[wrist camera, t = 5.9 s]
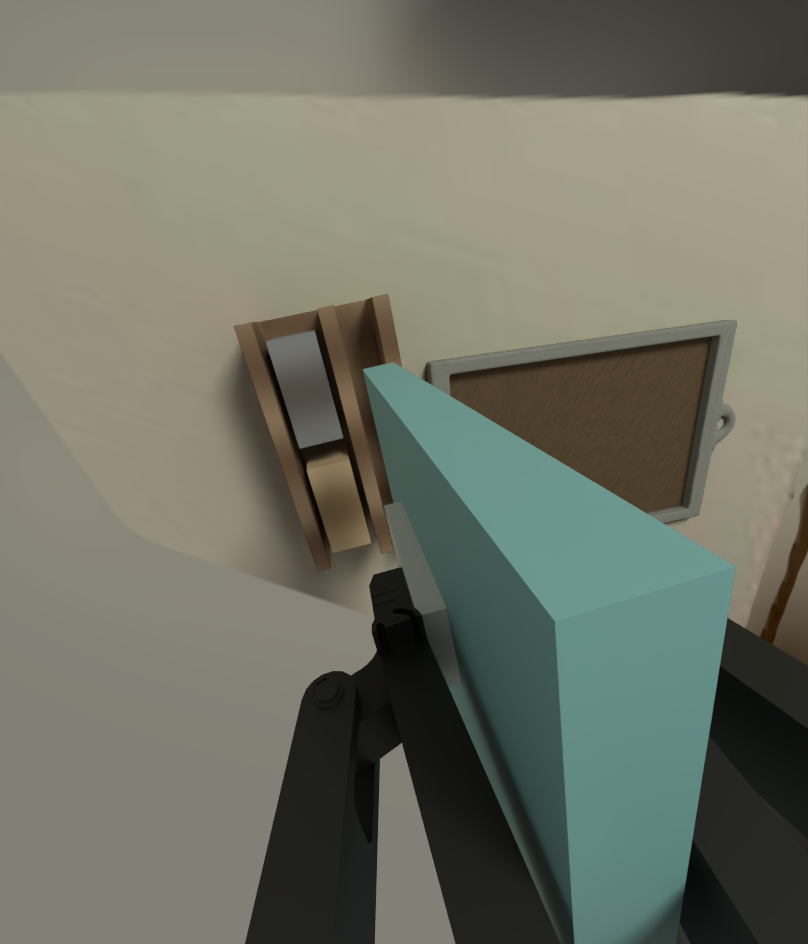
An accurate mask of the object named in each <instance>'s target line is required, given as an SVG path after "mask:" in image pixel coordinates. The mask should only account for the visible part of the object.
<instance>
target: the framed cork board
mask: <svg viewBox="0 0 808 944" xmlns="http://www.w3.org/2000/svg"><path fill="white" fill-rule="evenodd" d="M736 327H737V321H735V320H723V321H715V322H708V323H701V324H694V325H686V326H679V327H672V328H665V329H658V330H651V331H643V332H636V333H629V334H622V335H615V336H608V337H600V338H593V339H586V340H579V341H572V342H565V343H557V344H550V345H543V346H536V347H529V348H522V349H514V350H507V351H500V352H493V353H486V354H479V355H471V356H464V357H457V358H450V359H443V360H436V361H430V362H427V364H426V369H427V381H428V383H429V384H431V385H432V386H434V387H436V388H437V389H439V390H441V391H443V392H444V393H446V394H448V395H449V396H451V397H453V398H454V399H456V400H458V401H459V402H461V403H463V404H464V405H466V406H468V407H469V408H471V409H473V410H474V411H476V412H478V413H479V414H481V415H483V416H484V417H486V418H488V419H489V420H491V421H493V422H494V423H496V424H498V425H499V426H501V427H503V428H504V429H506V430H508V431H509V432H511V433H513V434H514V435H516V436H518V437H519V438H521V439H523V440H525V441H526V442H528V443H530V444H531V445H533V446H535V447H536V448H538V449H540V450H541V451H543V452H545V453H546V454H548V455H550V456H551V457H553V458H555V459H556V460H558V461H560V462H561V463H563V464H565V465H566V466H568V467H570V468H571V469H573V470H575V471H576V472H578V473H580V474H581V475H583V476H585V477H586V478H588V479H590V480H591V481H593V482H595V483H596V484H598V485H600V486H601V487H603V488H605V489H607V490H608V491H610V492H612V493H613V494H615V495H617V496H618V497H620V498H622V499H623V500H625V501H627V502H628V503H630V504H632V505H633V506H635V507H637V508H638V509H640V510H642V511H643V512H645V513H647V514H648V515H650V516H652V517H653V518H655V519H657V520H658V521H660V522H662V523H666V522H671V521H676V520H681V519H685V518H690V517H694V516H698V515H699V512H700V508H701V503H702V498H703V493H704V488H705V483H706V478H707V473H708V468H709V463H710V458H711V453H712V452H713V450H714V448H715V445H716V443H718V442H720V441H721V440H722V439H723V438H725V437H726V436H727V435H728V433H729V432H730V431H731V430H732V428H733V426H734V423H735V414H734V412H733V409H732V408H731V407H730V406H729V405H727V404H726V403H723V400H722V397H723V392H724V387H725V382H726V377H727V372H728V367H729V362H730V357H731V352H732V347H733V342H734V337H735V332H736ZM721 417H724V418H725V422H724V425H723V426H722V428H720V429H719V430H716V427H717V422H718V421H719V420H720V418H721Z"/></svg>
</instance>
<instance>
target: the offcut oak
mask: <svg viewBox="0 0 808 944" xmlns="http://www.w3.org/2000/svg"><path fill="white" fill-rule="evenodd" d="M307 473H308V477H309V480H310V483H311V486H312V489H313V492H314V495H315V499H316V502H317V505H318V508H319V511H320V514H321V518H322V521H323V524H324V527H325V530H326V533H327V536H328V540H329V543H330V546H331V549H332V552H333V553H337V552H340V551H344V550H348V549H351V548H355V547H359V546H363V545H366V544H370V543H371V539H370V534H369V529H368V524H367V520H366V516H365V512H364V508H363V504H362V501H361V497H360V493H359V489H358V486H357V482H356V478H355V474H354V471H353V467H352V463H351V459H350V456H349V452H348V448H347V444H346V443H344V444H340V445H336V446H332V447H328V448H324V449H319V450H315V451H311V452H309V453H308V461H307Z"/></svg>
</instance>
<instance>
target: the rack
mask: <svg viewBox="0 0 808 944" xmlns="http://www.w3.org/2000/svg"><path fill="white" fill-rule="evenodd" d="M234 329H235V332H236V335H237V338H238V341H239V343H240V346H241V349H242V352H243V355H244V358H245V361H246V364H247V367H248V370H249V373H250V375H251V378H252V381H253V384H254V387H255V390H256V393H257V396H258V399H259V402H260V405H261V408H262V410H263V413H264V416H265V419H266V422H267V425H268V428H269V431H270V434H271V437H272V440H273V443H274V445H275V448H276V451H277V454H278V457H279V460H280V463H281V466H282V469H283V472H284V475H285V477H286V480H287V483H288V486H289V489H290V492H291V495H292V498H293V501H294V504H295V507H296V510H297V512H298V515H299V518H300V521H301V524H302V527H303V530H304V533H305V536H306V539H307V542H308V545H309V547H310V550H311V553H312V556H313V559H314V562H315V565H316V568H317V571H322V570H325V569H329V568H331V563H330V543H329V540H328V536H327V533H326V530H325V527H324V524H323V521H322V518H321V514H320V511H319V508H318V505H317V502H316V499H315V495H314V492H313V489H312V486H311V483H310V480H309V477H308V473H307V461H308V453H309V452H311V451H315V450H319V449H324V448H328V447H332V446H336V445H340V444H344V443H346V444H347V448H348V452H349V456H350V459H351V463H352V467H353V471H354V474H355V478H356V482H357V486H358V489H359V493H360V497H361V501H362V504H363V508H364V512H365V516H366V520H367V524H368V529H369V531H370V530H374V529H375V533H376V537H377V540H378V544H379V548H380V552H381V554H384V553H387V552H391V551H393V547H392V543H391V539H390V534H389V530H388V521H387V516H386V512H385V508H384V505H388V504H392V503H393V499H392V495H391V490H390V486H389V482H388V477H387V473H386V469H385V464H384V460H383V456H382V451H381V447H380V443H379V438H378V434H377V430H376V425H375V421H374V417H373V412H372V408H371V404H370V399H369V395H368V391H367V386H366V382H365V378H364V373H363V369H366V368H370V367H375V366H379V365H384V364H388V363H393V362H394V363H396V364H397V365H399V366H401V367H402V364H401V359H400V353H399V348H398V343H397V338H396V332H395V327H394V322H393V317H392V311H391V306H390V301H389V296H388V294H385V295H380V296H376V297H372V298H369V299H367V300H364V301H359V302H354V303H349V304H344V305H340V306H335V307H334V305H332V306H328V307H323V308H318V309H317V310H316V311H311V312H306V313H301V314H297V315H292V316H287V317H282V318H277V319H273V320H268V321H263V322H251V323H246V324H241V325H236V326H234ZM311 330H316V332H317V335H318V339H319V343H320V347H321V350H322V354H323V358H324V362H325V365H326V369H327V373H328V377H329V380H330V384H331V388H332V392H333V395H334V399H335V403H336V407H337V410H338V414H339V418H340V422H341V427H342V433H343V438H342V439H338V440H333V441H329V442H325V443H321V444H317V445H313V446H309V447H305V448H299V445H298V442H297V439H296V436H295V432H294V429H293V426H292V423H291V420H290V417H289V414H288V410H287V407H286V404H285V401H284V398H283V395H282V392H281V388H280V385H279V382H278V379H277V376H276V373H275V369H274V366H273V363H272V360H271V357H270V354H269V351H268V347H267V344H266V341H269V340H271V339H274V338H279V337H283V336H288V335H293V334H297V333H302V332H307V331H311Z"/></svg>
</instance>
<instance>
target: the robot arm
mask: <svg viewBox="0 0 808 944" xmlns="http://www.w3.org/2000/svg"><path fill="white" fill-rule="evenodd" d="M384 508H385V512H386V516H387V521H388V525H389V529H390V533H391V537H392V541H393V545H394V549H395V554H396V558H397V562H398V565H399V568H396V569H393V570H389V571H386V572H382V573H378V574H375V575H373V578H372V580H371V583H370V585H369V587H370V593H371V598H372V605H373V612H374V618H375V620H374V622H373V624H372V635H373V638H374V641H375V645H376V648H377V652H376V654H375V656H374V657H373V659H372V660H371V661H370V662H369V663H368V664H367V665H366V666H365V667H363V668H362V669H361V670H359V671H357V672H356V673H354V674H353V675H351V676H350V675H349V674H347V673H344V672H343V671H332V672H329V673H326V674H323V675H321V676H320V677H318V678H317V679H316V680H314V681H313V682H312V683H311V684H310V686H309V687H308V688H307V689H306V691H305V693H304V696H303V698H302V701H301V706H300V710H299V714H298V718H297V722H296V727H295V731H294V736H293V740H292V744H291V748H290V753H289V757H288V761H287V766H286V770H285V774H284V779H283V783H282V787H281V792H280V796H279V800H278V805H277V809H276V813H275V817H274V821H273V826H272V830H271V834H270V839H269V843H268V847H267V852H266V856H265V860H264V865H263V869H262V874H261V877H260V882H259V886H258V890H257V895H256V899H255V903H254V908H253V912H252V917H251V921H250V925H249V929H248V933H247V938H246V942H245V944H375V913H376V911H375V910H376V909H375V908H376V877H377V843H378V842H377V841H378V840H377V839H378V806H379V772H380V771H379V769H380V758H382V757H383V756H384V755H386V754H387V753H388V752H390V751H391V750H393V749H394V748H395V747H397V746H398V745H399V744H401V743H402V744H403V748H404V752H405V756H406V760H407V763H408V767H409V771H410V775H411V778H412V782H413V785H414V790H415V793H416V797H417V801H418V805H419V808H420V812H421V816H422V819H423V823H424V827H425V831H426V835H427V838H428V842H429V846H430V850H431V853H432V857H433V861H434V865H435V868H436V872H437V876H438V880H439V883H440V887H441V891H442V895H443V898H444V902H445V906H446V910H447V913H448V917H449V921H450V924H451V928H452V932H453V935H454V940H455V943H456V944H561V943H560V941H559V938H558V936H557V934H556V931H555V929H554V927H553V925H552V922H551V920H550V918H549V916H548V913H547V911H546V909H545V906H544V904H543V902H542V900H541V897H540V895H539V893H538V890H537V888H536V886H535V884H534V881H533V879H532V877H531V874H530V872H529V870H528V868H527V865H526V863H525V861H524V858H523V856H522V854H521V852H520V849H519V847H518V845H517V842H516V840H515V838H514V836H513V833H512V831H511V829H510V826H509V824H508V822H507V820H506V817H505V815H504V813H503V810H502V808H501V806H500V804H499V801H498V799H497V797H496V795H495V792H494V790H493V788H492V785H491V783H490V781H489V779H488V776H487V774H486V772H485V769H484V767H483V765H482V763H481V760H480V758H479V756H478V753H477V751H476V749H475V747H474V744H473V742H472V740H471V737H470V735H469V733H468V731H467V728H466V726H465V724H464V721H463V719H462V717H461V715H460V712H459V710H458V708H457V705H456V703H455V701H454V699H453V696H452V694H451V692H450V690H449V687H450V686H453V685H456V684H459V683H461V680H460V675H459V670H458V665H457V660H456V654H455V649H454V644H453V639H452V634H451V629H450V624H449V619H448V613H447V608H446V606H445V603H444V601H443V599H442V596H441V594H440V592H439V589H438V587H437V584H436V582H435V580H434V577H433V575H432V572H431V570H430V568H429V565H428V563H427V561H426V558H425V556H424V553H423V551H422V549H421V546H420V544H419V541H418V539H417V537H416V534H415V532H414V530H413V527H412V525H411V522H410V520H409V518H408V515H407V513H406V510H405V508H404V506H403V503H402V501H400V502H396V503H392V504H388V505H384ZM676 944H808V666H807V665H805V664H804V663H802V662H800V661H798V660H797V659H795V658H794V657H792V656H790V655H789V654H787V653H785V652H783V651H782V650H780V649H779V648H777V647H775V646H774V645H772V644H770V643H769V642H767V641H765V640H764V639H762V638H760V637H759V636H757V635H755V634H753V633H752V632H750V631H748V630H747V629H745V628H743V627H742V626H740V625H738V624H737V623H735V622H733V621H732V620H730V619H728V618H727V624H726V630H725V636H724V643H723V649H722V655H721V662H720V668H719V674H718V681H717V687H716V693H715V700H714V706H713V712H712V719H711V725H710V731H709V738H708V744H707V750H706V757H705V763H704V769H703V776H702V782H701V788H700V795H699V801H698V807H697V814H696V820H695V826H694V833H693V839H692V845H691V852H690V858H689V864H688V871H687V877H686V883H685V890H684V896H683V902H682V909H681V915H680V921H679V928H678V934H677V940H676Z"/></svg>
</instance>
